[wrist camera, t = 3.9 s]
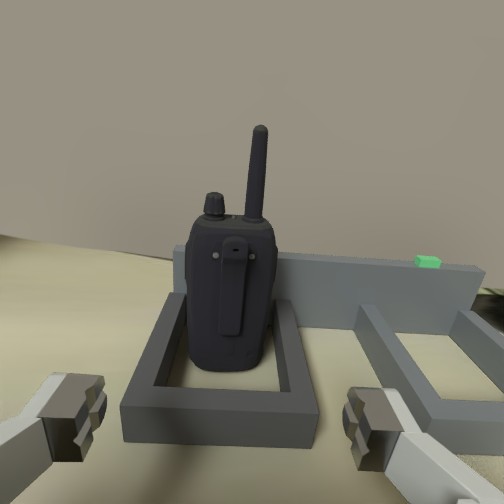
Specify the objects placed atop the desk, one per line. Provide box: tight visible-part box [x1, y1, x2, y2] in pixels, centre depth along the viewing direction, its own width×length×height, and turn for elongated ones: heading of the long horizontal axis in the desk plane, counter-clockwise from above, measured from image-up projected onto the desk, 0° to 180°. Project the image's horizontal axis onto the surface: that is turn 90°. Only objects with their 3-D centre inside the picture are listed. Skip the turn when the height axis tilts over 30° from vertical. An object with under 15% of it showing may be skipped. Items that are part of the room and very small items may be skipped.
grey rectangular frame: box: [120, 292, 319, 449], centre depth 20 cm, size 9×10×2 cm
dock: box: [173, 245, 504, 456], centre depth 20 cm, size 24×11×7 cm, turn 91°
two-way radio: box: [185, 125, 278, 371], centre depth 18 cm, size 6×4×15 cm
